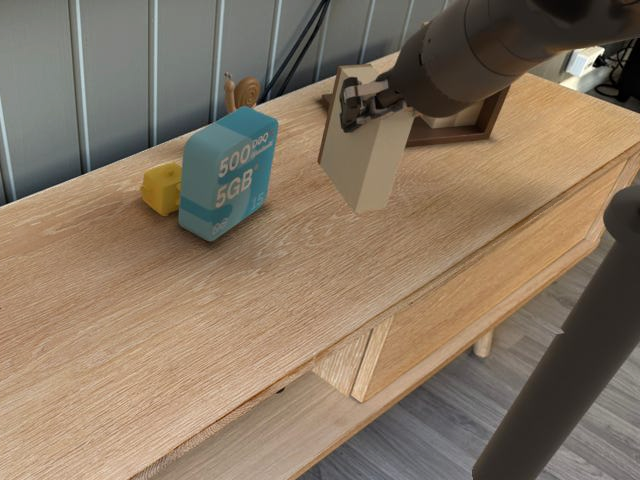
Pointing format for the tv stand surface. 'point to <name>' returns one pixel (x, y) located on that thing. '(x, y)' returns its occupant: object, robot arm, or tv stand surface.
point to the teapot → (162, 188)
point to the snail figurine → (241, 93)
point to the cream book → (362, 149)
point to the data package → (226, 172)
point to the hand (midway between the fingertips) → (364, 121)
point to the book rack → (454, 122)
